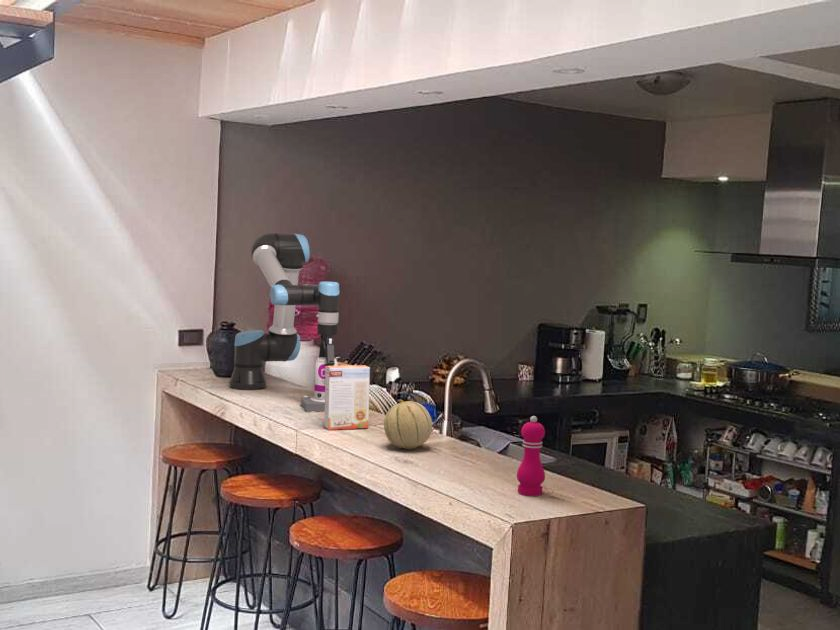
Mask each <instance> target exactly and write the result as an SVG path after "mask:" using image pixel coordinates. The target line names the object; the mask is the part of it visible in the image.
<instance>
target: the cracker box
mask: <svg viewBox="0 0 840 630" xmlns="http://www.w3.org/2000/svg"><path fill="white" fill-rule="evenodd" d="M370 372H371V367H369V366H368V365H365V364H364V365H362V364H359V365H351V364H349V365H338V366H326V372H325V412H324V422H323V423H324V428H325V429H326V430H327V431H338V429H343V430H357V429H356V428H368V429H369V414H370V413H369V411H370V410H369V409H370V408H369V407H370V378H371V377H370V374H371V373H370Z"/></svg>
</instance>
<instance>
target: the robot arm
mask: <svg viewBox="0 0 840 630" xmlns="http://www.w3.org/2000/svg"><path fill="white" fill-rule="evenodd" d="M250 247H251V248H250V257H251V259H252V260H253V263H254V264H255V265H256V266H257V267H259V269H260V270H261V272H262V274H263V275H264V277H265V280H266V281H267V283H268V285H269V286H270V289H269V299H270V302H271V304H272V305H274V309H273V319H272V325H271V326H269V328H268V333H265V332H264V330H261V329H256V330H255V329H250V330H243V331H240V332H238V333H236V335H235V336H234V337H235V338H234V344H233V345H234V359H233V361H234V365H233V371H232V373H231V377H230V379H229V384H228V387H229V386H230V387H233V388H232V389H234V388H238V389H237V390H244V389H255V390H260V389H259V388H264V389H266V388H267V384H268V382H267V379H266V375H265V372H264V369H263V368H264V367H263V365H264V362H291V361H294V360H295V359H297V357H298V355H299V354H300V350H301V336H300V335H299V333H297V332H298V331H297V329H296V327H295V326H294V325H295V315H296V313H295V312H296V306H317V314H316V315H315V316H316V318H317V322H318V324H317V329H316V330H317V331H316V333H317V334H318V335H321V336H320V345H319V352H318V353H319V354H318V358H320V357H326V364H325V366H334V365H335V361H334V358H335V346H334V344H335V339H334V338H332V337H333V336H337V335H338V333H339V325H338V323H339V316H340V315H339V314H340V313H339V306H340V305H339V303H340V283H339V282H337V281H319V283H318V284H311V285H306V284H299V285H298V283H299V275H300V271H301V270H303V269H304V264H307V263H309V262H310V261H309V260H310V257H311V256H310V251H311V250H310V244H309V241H308V239H307V237H306V236H305V235H303V234H301V233H300V234H299V233H279V232H278V233H277V232H275V233H274V232H266V233H264V234H261V235H259V236H258V237H257V238H256V239H255V240H254V241H253V243H252V244H251V246H250ZM230 387H229V388H230ZM265 387H266V388H265Z"/></svg>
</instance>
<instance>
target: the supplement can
mask: <svg viewBox="0 0 840 630" xmlns="http://www.w3.org/2000/svg"><path fill="white" fill-rule="evenodd" d="M334 361H335V365H334V366H339V365H338V364H339V363H338V360H337V358H336V357H334ZM314 362H315V364H314V387H313V388H314V389H313V391H314V393H313V395H314V396H313V397H315V398H316V399H318V400H325V372H326V366H325V364H326V357H320V358H319V357H317V358H316V359H315V361H314Z"/></svg>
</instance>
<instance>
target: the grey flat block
mask: <svg viewBox="0 0 840 630" xmlns="http://www.w3.org/2000/svg"><path fill="white" fill-rule="evenodd" d="M301 405H302V406H301ZM300 406H301V407H302V409H303V408H304V409H305V410H306V411H325V400H318V399H316V398H315V397H314V396H309V395H306V394H305V395H303V396H301V397H300ZM304 409H303V410H304ZM305 410H304V411H305ZM306 411H305V412H306Z"/></svg>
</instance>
